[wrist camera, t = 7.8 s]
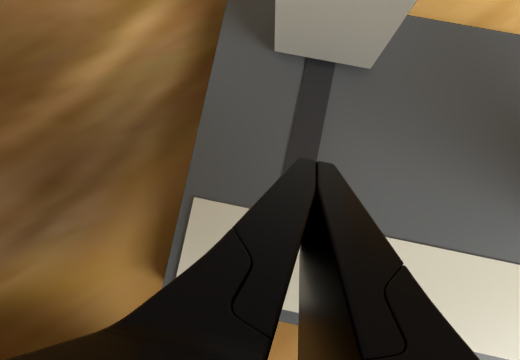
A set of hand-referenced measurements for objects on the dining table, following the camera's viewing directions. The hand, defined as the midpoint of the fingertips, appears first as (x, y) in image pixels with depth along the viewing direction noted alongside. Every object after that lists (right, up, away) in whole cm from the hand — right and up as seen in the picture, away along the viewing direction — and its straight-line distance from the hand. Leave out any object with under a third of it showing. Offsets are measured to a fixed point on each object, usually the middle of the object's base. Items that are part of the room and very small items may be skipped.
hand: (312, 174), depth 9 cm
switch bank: (+7, 0, +7) cm, 10 cm away
